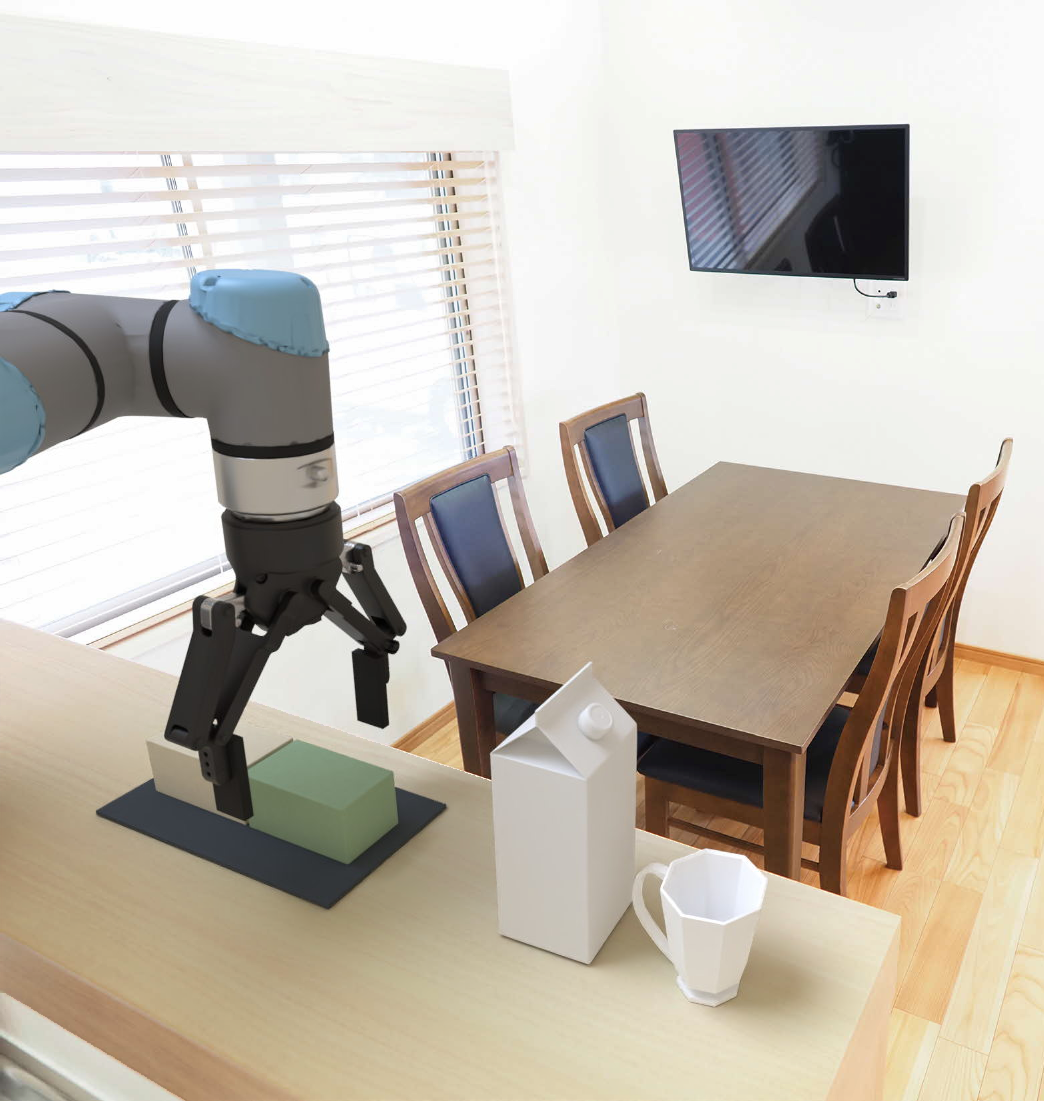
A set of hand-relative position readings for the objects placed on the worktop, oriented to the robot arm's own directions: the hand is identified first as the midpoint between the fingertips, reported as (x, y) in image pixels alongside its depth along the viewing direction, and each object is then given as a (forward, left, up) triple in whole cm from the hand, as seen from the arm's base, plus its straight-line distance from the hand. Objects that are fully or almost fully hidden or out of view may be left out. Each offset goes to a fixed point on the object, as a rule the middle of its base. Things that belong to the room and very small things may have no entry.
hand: (310, 764), depth 72 cm
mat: (-3, +4, -6) cm, 8 cm away
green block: (0, 0, -6) cm, 6 cm away
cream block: (-6, +8, -6) cm, 12 cm away
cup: (+21, -25, -6) cm, 33 cm away
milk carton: (+15, -17, -6) cm, 24 cm away
